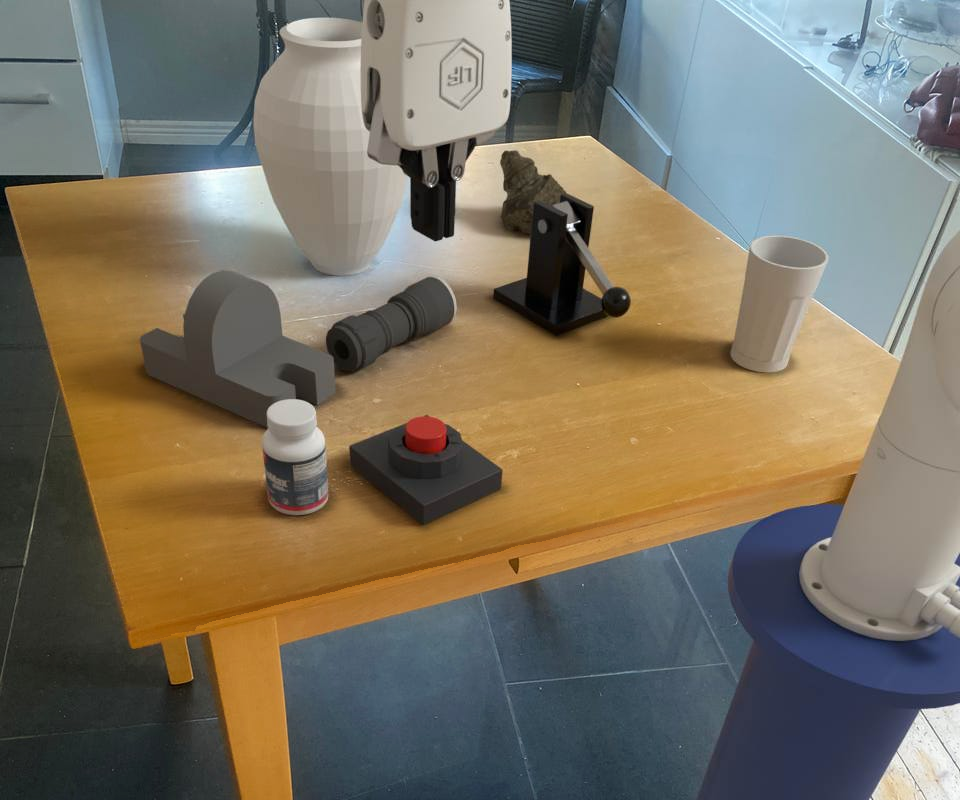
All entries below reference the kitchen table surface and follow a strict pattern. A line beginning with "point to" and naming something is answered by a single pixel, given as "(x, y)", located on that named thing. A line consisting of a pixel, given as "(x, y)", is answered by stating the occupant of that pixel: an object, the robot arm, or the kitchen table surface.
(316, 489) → the pill bottle
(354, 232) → the vase
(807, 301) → the cup
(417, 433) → the button
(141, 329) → the kitchen table surface
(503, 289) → the bracket
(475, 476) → the button block
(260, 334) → the bracket
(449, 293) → the flashlight
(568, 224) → the lever
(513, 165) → the brown rock
